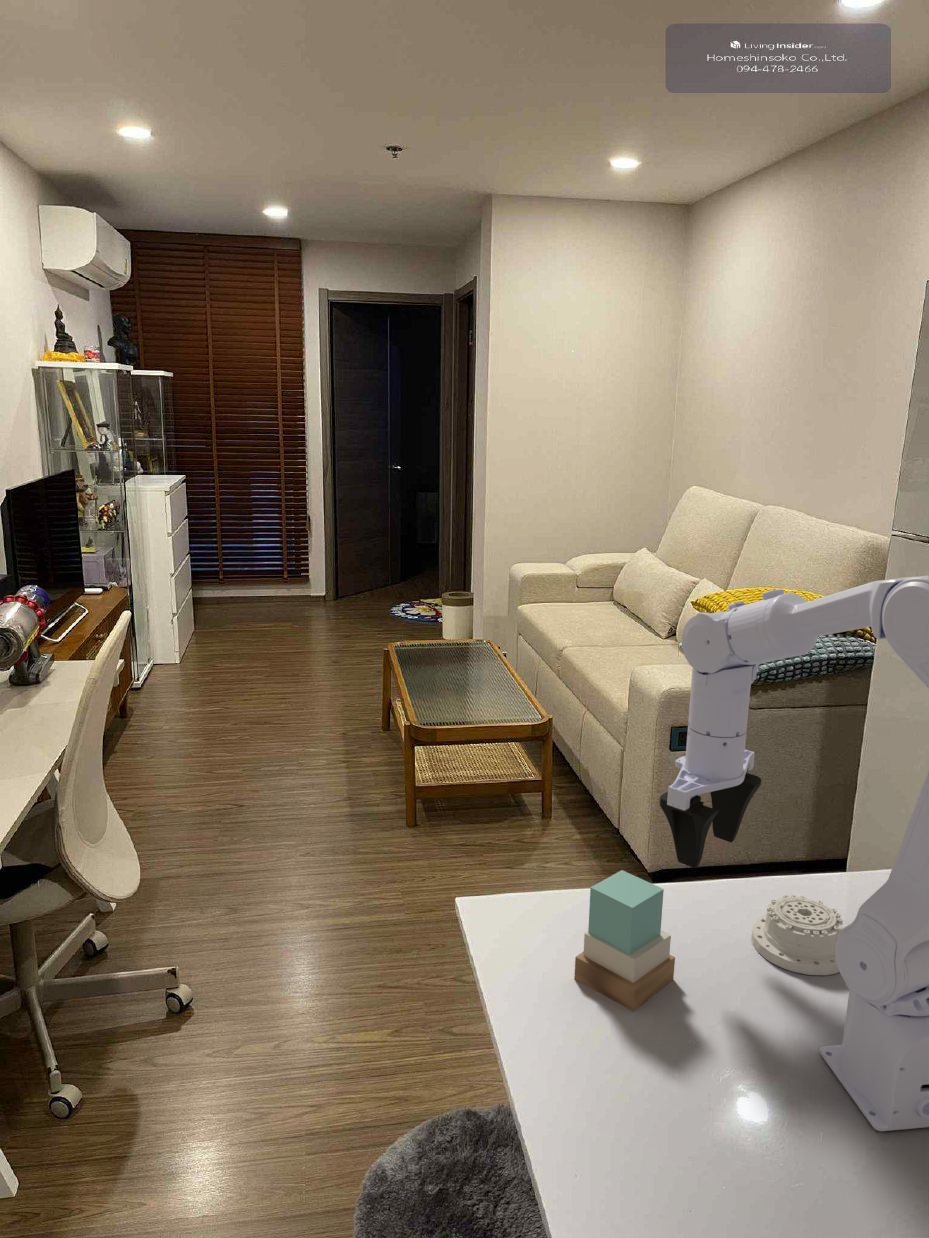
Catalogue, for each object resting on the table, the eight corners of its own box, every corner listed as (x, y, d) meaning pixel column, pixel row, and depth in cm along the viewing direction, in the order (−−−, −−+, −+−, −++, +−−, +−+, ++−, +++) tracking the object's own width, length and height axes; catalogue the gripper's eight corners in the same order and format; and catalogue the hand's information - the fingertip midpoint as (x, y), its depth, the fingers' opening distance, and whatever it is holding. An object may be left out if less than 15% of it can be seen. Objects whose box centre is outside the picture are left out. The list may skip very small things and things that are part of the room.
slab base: (673, 983, 93) (675, 957, 92) (633, 1015, 88) (635, 988, 88) (614, 954, 98) (616, 928, 97) (574, 983, 93) (575, 956, 92)
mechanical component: (767, 977, 94) (866, 979, 94) (771, 938, 93) (872, 940, 93) (740, 922, 104) (830, 924, 104) (744, 886, 103) (835, 888, 103)
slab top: (669, 957, 92) (670, 934, 92) (633, 983, 88) (634, 959, 88) (619, 932, 97) (621, 910, 96) (583, 955, 92) (584, 933, 92)
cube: (660, 934, 92) (663, 888, 91) (629, 955, 88) (632, 907, 87) (619, 914, 95) (621, 869, 94) (588, 933, 92) (590, 887, 91)
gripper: (715, 702, 102) (706, 816, 105) (644, 736, 92) (635, 861, 95) (777, 717, 97) (765, 837, 101) (709, 755, 87) (698, 887, 90)
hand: (706, 850), depth 97 cm, fingers open, 7 cm apart
